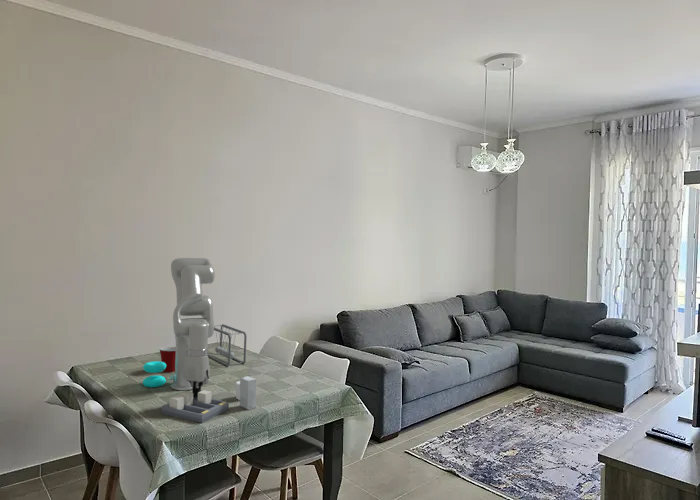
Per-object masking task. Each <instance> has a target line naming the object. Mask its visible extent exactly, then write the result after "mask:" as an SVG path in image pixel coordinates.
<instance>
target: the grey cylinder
mask: <svg viewBox="0 0 700 500" xmlns="http://www.w3.org/2000/svg"><path fill="white" fill-rule="evenodd" d="M235 398H236V400H237V399H238V401H240V380H237V381H236V382H235Z"/></svg>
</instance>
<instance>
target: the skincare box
mask: <svg viewBox="0 0 700 500" xmlns="http://www.w3.org/2000/svg"><path fill="white" fill-rule="evenodd" d="M239 381H240V400H239V406H240V407H242V408H243V409H246V410H253V409H256V407H257V379H256V378H254V377H251V376H248V375H247V376H243V377H239Z"/></svg>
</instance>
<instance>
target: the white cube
mask: <svg viewBox="0 0 700 500" xmlns="http://www.w3.org/2000/svg"><path fill="white" fill-rule="evenodd" d="M169 403H170V405H169V407H172V408H176V409H183V408H184V397H181V396H179V395H176V394H175V395H174V396H172V397H169Z"/></svg>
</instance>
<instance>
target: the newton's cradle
mask: <svg viewBox="0 0 700 500" xmlns="http://www.w3.org/2000/svg"><path fill="white" fill-rule="evenodd" d="M226 330H228V331H226ZM214 331H215V332H216V333H215V335H216V337H218V336H217V332H218V333H219V334H218V335H219V343H218V340H216V343H217V344H218V345H217V346H216V347H215V348H214V351H215V352H216V353H211V354H210V353H209V354H208V353H207V356H208V358H210V359H211V360H213V361H215V362H218V363H220V364H221V365H224V366H226V367H229V366H234V365H238V364H242V363H243V365H244V364H245V363H246V359H247V333H246V332H245V331H243V330H241V329H237V328H234V327H232V326H229V325H227V324H220V325H219V324H218V325H217V324H216V326H214ZM230 331H231V332H230ZM240 334H243V337H244V339H243V340H244V341H243V360H240V359H238V358H237V357H236V356H235V352H233V349H234V347H232V346H234V344H235V342H233V345H231V344H232V336H233V335H235V336H236V335H240ZM233 338H234V339H233V341H235V338H236V337H233ZM223 339H226V341H223ZM224 342H225V343H226V344H225V343H224ZM224 344H225V346H228V348H225V347H224V346H223V345H224ZM231 348H232V349H231ZM212 355H222V356H224V357H226V358H227V362H224V361H222V360H220V359H218V358H217V357H214V356H212ZM231 360H234V361H236V363H231Z"/></svg>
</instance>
